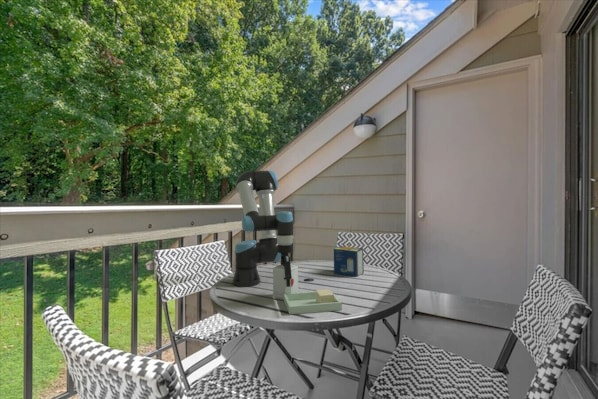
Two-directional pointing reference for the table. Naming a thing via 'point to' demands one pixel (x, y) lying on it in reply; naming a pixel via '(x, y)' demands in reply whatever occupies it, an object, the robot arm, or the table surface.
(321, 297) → the tan rectangular block
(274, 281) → the supplement box
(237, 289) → the table surface
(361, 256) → the protein box
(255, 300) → the table surface
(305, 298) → the green tray
